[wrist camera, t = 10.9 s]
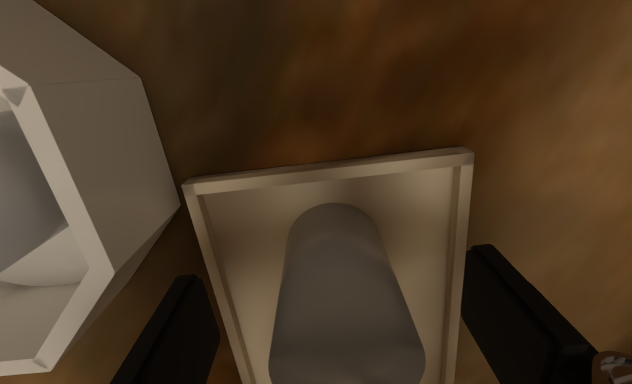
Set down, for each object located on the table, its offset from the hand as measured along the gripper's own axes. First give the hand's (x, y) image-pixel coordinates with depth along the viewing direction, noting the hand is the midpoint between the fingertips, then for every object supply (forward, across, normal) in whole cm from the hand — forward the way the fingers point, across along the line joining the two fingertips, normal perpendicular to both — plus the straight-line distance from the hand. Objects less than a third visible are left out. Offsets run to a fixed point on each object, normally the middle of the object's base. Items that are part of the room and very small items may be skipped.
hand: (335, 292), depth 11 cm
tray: (+4, 0, +4) cm, 6 cm away
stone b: (+4, 0, 0) cm, 4 cm away
